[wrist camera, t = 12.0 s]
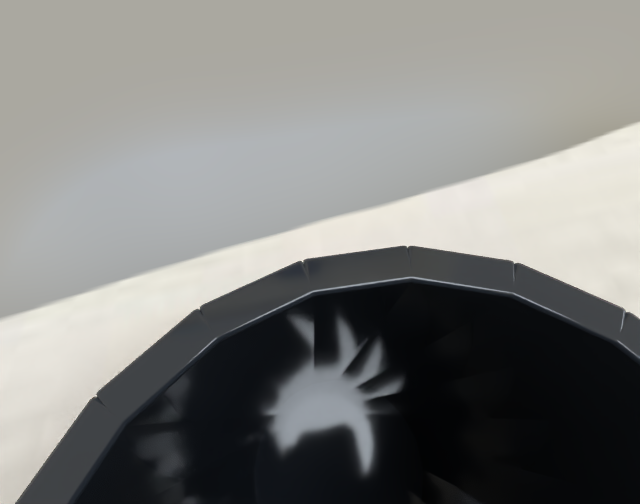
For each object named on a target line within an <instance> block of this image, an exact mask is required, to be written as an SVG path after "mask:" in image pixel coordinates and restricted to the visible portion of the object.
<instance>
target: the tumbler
mask: <svg viewBox="0 0 640 504" xmlns="http://www.w3.org/2000/svg"><path fill="white" fill-rule="evenodd" d="M96 395H97V397H93V398H92V399H91V400H90V401H89V402H88V403H87V405H86V406H85V408H84V409H83V410H82V412H81V413H80V415H79V416H78V417H77V419H76V420H75V421H74V423H73V424H72V426H71V427H70V428H69V430H68V431H67V433H66V434H65V435H64V437H63V438H62V439H61V441H60V442H59V444H58V445H57V446H56V448H55V449H54V451H53V452H52V453H51V455H50V456H49V457H48V459H47V460H46V462H45V463H44V464H43V466H42V467H41V469H40V470H39V471H38V473H37V474H36V475H35V477H34V478H33V480H32V481H31V482H30V484H29V485H28V487H27V488H26V489H25V491H24V492H23V493H22V495H21V496H20V498H19V499H18V500H17V502H16V503H15V504H640V319H639V318H638V317H637V316H635V315H634V314H632V313H630V312H626V311H625V309H624V308H622V307H620V306H617V305H615V304H613V303H610V302H608V301H606V300H603V299H601V298H599V297H597V296H594V295H592V294H590V293H587V292H585V291H583V290H580V289H578V288H576V287H574V286H571V285H569V284H567V283H564V282H562V281H560V280H557V279H555V278H553V277H550V276H548V275H546V274H544V273H541V272H539V271H537V270H534V269H532V268H530V267H527V266H525V265H523V264H521V263H515V264H514V262H513V261H509V260H503V259H496V258H489V257H483V256H476V255H470V254H463V253H456V252H450V251H443V250H437V249H430V248H423V247H417V246H409V247H408V248H407V247H406V246H398V247H390V248H383V249H376V250H368V251H361V252H354V253H346V254H339V255H332V256H324V257H317V258H310V259H306V260H304V261H303V262H302V261H298V262H296V263H293V264H291V265H289V266H287V267H285V268H282V269H280V270H278V271H276V272H274V273H271V274H269V275H267V276H265V277H263V278H260V279H258V280H256V281H254V282H252V283H249V284H247V285H245V286H243V287H241V288H238V289H236V290H234V291H232V292H230V293H227V294H225V295H223V296H221V297H219V298H216V299H214V300H212V301H210V302H208V303H205V304H203V305H202V306H201V307H200V310H199V309H196V310H194V311H193V312H191V313H190V314H189V315H188V316H187V317H186V318H184V319H183V320H182V321H181V322H180V323H178V324H177V325H176V326H175V327H174V328H172V329H171V330H170V331H169V332H168V333H167V334H165V335H164V336H163V337H162V338H161V339H159V340H158V341H157V342H156V343H155V344H154V345H152V346H151V347H150V348H149V349H148V350H146V351H145V352H144V353H143V354H142V355H141V356H139V357H138V358H137V359H136V360H135V361H133V362H132V363H131V364H130V365H129V366H127V367H126V368H125V369H124V370H123V371H122V372H120V373H119V374H118V375H117V376H116V377H114V378H113V379H112V380H111V381H110V382H109V383H107V384H106V385H105V386H104V387H103V388H101V389H100V390H99V391H98V392H97V394H96Z"/></svg>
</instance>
